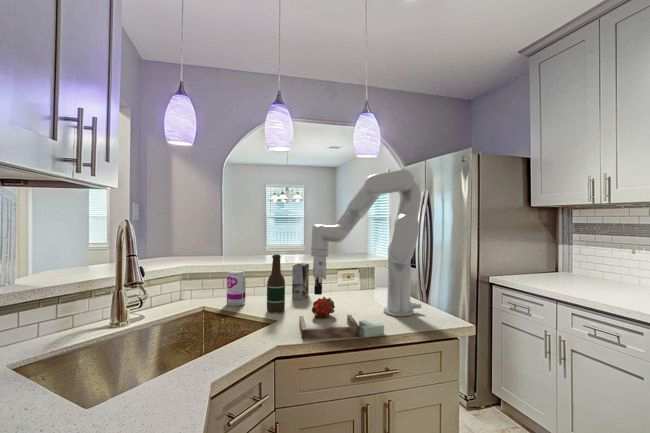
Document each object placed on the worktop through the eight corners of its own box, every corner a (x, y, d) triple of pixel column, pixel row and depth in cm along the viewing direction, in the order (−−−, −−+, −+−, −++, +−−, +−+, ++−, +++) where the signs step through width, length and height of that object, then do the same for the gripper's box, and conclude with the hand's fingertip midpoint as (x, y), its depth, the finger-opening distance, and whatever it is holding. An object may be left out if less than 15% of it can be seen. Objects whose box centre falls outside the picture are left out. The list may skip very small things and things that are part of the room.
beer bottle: (288, 309, 153) (289, 254, 153) (278, 314, 146) (279, 256, 146) (273, 307, 156) (273, 253, 156) (262, 311, 149) (263, 255, 149)
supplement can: (235, 307, 155) (236, 273, 155) (222, 304, 160) (223, 271, 159) (249, 303, 162) (249, 270, 162) (236, 300, 166) (236, 269, 166)
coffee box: (304, 299, 171) (304, 266, 170) (291, 298, 172) (292, 265, 172) (309, 295, 180) (309, 263, 179) (296, 294, 181) (297, 262, 180)
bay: (350, 322, 137) (351, 314, 137) (360, 336, 122) (360, 328, 122) (299, 323, 135) (299, 315, 135) (302, 338, 119) (302, 329, 119)
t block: (370, 327, 132) (371, 319, 132) (383, 333, 125) (384, 325, 125) (352, 330, 129) (352, 321, 129) (365, 337, 122) (365, 328, 121)
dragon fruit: (335, 317, 148) (314, 328, 140) (323, 302, 153) (302, 312, 144) (343, 304, 144) (321, 314, 136) (329, 289, 148) (308, 298, 140)
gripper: (330, 255, 148) (328, 298, 149) (325, 250, 163) (324, 290, 164) (312, 254, 147) (311, 298, 148) (309, 250, 162) (308, 290, 163)
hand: (317, 294), depth 156 cm, fingers closed
